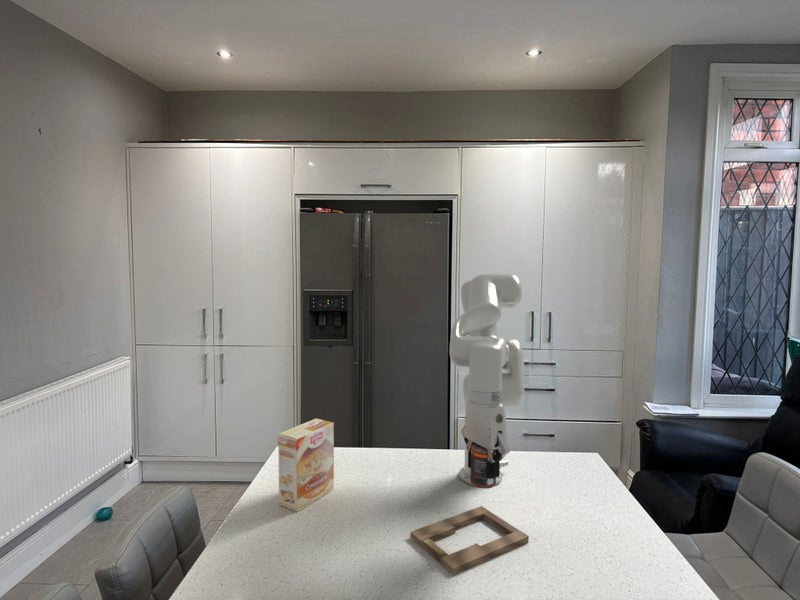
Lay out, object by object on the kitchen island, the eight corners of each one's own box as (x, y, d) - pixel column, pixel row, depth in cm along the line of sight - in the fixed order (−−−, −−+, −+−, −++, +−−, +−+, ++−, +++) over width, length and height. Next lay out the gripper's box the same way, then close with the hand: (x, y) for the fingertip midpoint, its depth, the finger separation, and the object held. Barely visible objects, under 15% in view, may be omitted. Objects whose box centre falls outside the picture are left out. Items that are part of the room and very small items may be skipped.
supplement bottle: (498, 490, 112) (499, 441, 111) (472, 489, 112) (472, 441, 111) (493, 478, 118) (494, 432, 117) (468, 478, 118) (469, 432, 117)
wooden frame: (481, 511, 127) (481, 504, 127) (528, 542, 114) (528, 534, 114) (410, 537, 115) (410, 530, 115) (453, 575, 102) (453, 567, 102)
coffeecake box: (297, 512, 126) (296, 439, 124) (277, 505, 130) (276, 433, 128) (335, 489, 139) (334, 421, 137) (316, 482, 143) (315, 417, 141)
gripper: (524, 403, 108) (522, 482, 110) (472, 385, 123) (471, 455, 124) (499, 408, 104) (497, 490, 106) (448, 389, 119) (447, 462, 120)
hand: (483, 471), depth 115 cm, fingers closed on supplement bottle, 6 cm apart
